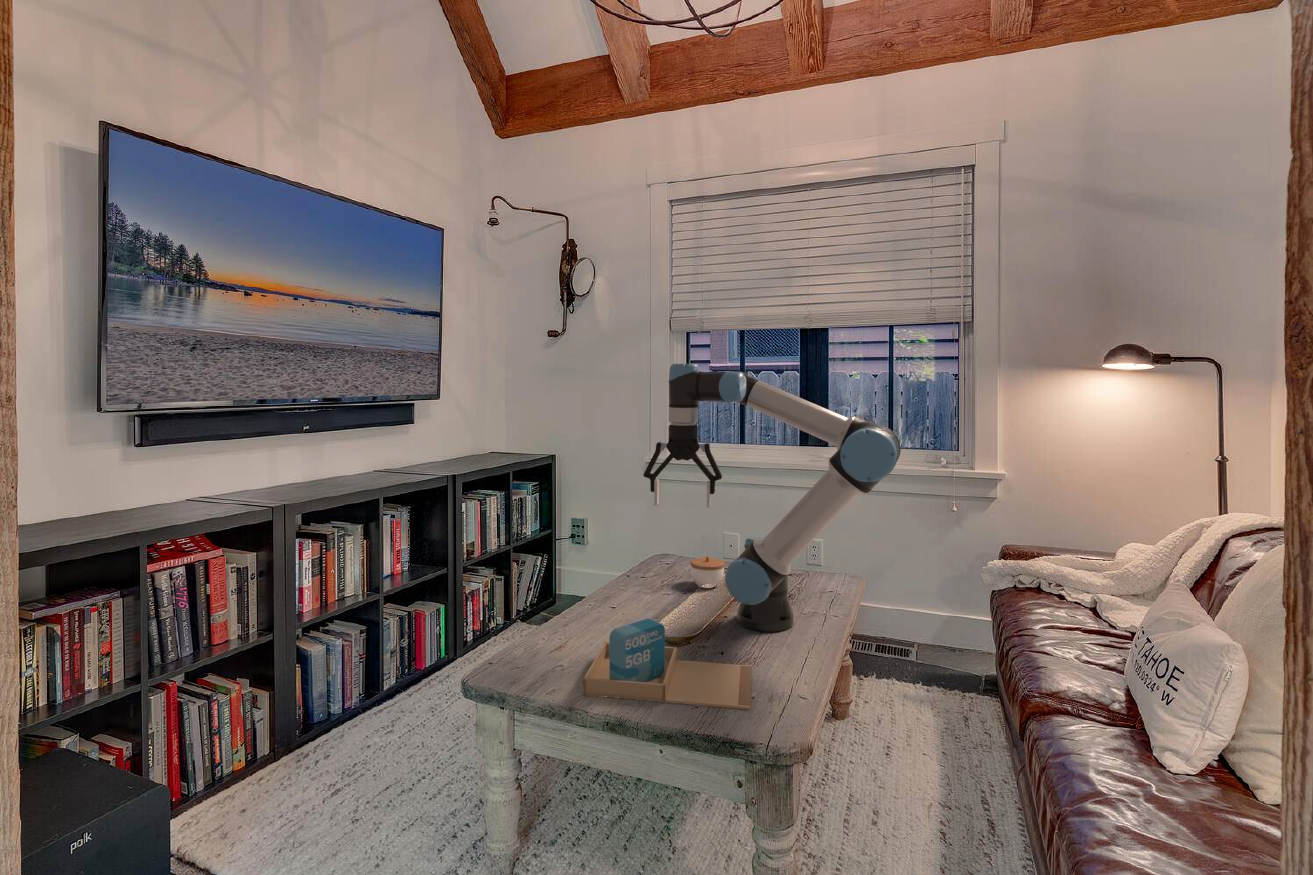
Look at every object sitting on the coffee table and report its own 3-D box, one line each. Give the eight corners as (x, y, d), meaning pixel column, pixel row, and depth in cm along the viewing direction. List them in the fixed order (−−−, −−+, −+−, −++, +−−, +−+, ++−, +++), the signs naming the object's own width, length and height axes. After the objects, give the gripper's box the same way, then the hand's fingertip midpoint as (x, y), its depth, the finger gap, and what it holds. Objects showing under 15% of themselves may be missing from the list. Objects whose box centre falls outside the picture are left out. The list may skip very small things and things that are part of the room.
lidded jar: (701, 593, 203) (701, 563, 202) (684, 583, 213) (684, 554, 212) (730, 588, 208) (731, 558, 207) (712, 578, 218) (712, 550, 217)
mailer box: (751, 667, 152) (751, 652, 151) (750, 709, 133) (750, 692, 132) (604, 656, 157) (604, 642, 157) (583, 695, 138) (583, 678, 138)
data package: (622, 692, 138) (622, 636, 137) (608, 684, 141) (608, 629, 140) (665, 675, 146) (665, 622, 145) (651, 668, 149) (651, 616, 148)
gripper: (732, 423, 172) (731, 504, 174) (638, 422, 176) (637, 500, 178) (731, 425, 165) (729, 510, 167) (632, 424, 169) (632, 506, 171)
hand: (682, 505), depth 172 cm, fingers open, 13 cm apart
